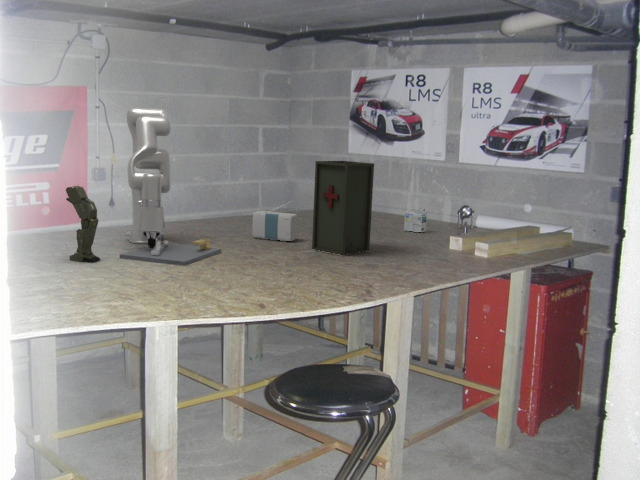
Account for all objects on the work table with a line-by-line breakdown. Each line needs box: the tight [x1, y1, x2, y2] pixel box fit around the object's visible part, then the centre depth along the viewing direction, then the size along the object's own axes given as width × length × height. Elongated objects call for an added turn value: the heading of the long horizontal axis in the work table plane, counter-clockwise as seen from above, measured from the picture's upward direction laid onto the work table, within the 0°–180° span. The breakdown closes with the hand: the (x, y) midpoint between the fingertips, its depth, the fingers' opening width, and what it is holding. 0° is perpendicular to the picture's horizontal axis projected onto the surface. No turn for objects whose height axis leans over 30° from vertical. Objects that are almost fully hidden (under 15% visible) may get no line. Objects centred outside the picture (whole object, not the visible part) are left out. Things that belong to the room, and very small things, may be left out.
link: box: [151, 234, 169, 255], centre depth 281 cm, size 24×5×5 cm, turn 6°
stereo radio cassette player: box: [251, 199, 298, 242], centre depth 328 cm, size 21×8×20 cm, turn 68°
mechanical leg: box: [65, 185, 101, 264], centre depth 261 cm, size 14×7×30 cm, turn 71°
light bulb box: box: [403, 211, 427, 232], centre depth 374 cm, size 11×7×11 cm, turn 58°
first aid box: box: [311, 160, 375, 256], centre depth 304 cm, size 18×18×40 cm
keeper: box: [192, 238, 211, 250], centre depth 286 cm, size 3×10×4 cm, turn 162°
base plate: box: [119, 242, 222, 266], centre depth 281 cm, size 29×32×2 cm
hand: (151, 247), depth 281 cm, fingers closed
